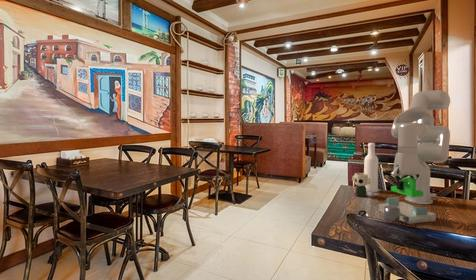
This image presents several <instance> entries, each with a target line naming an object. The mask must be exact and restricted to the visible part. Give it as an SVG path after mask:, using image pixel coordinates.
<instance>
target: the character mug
mask: <svg viewBox="0 0 476 280" xmlns="http://www.w3.org/2000/svg"><path fill="white" fill-rule="evenodd" d="M351 180H352V182H354V183H353V184H355V191H354V194H355V195H356V196H358V197H366V196H367V195H368V194H367V193H368V192H366V187H365V186H366V185H367V184H370V179H369V178H368V174H365V173H364V172H355V173H354V175H352V179H351ZM355 195H354V196H355Z"/></svg>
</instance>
